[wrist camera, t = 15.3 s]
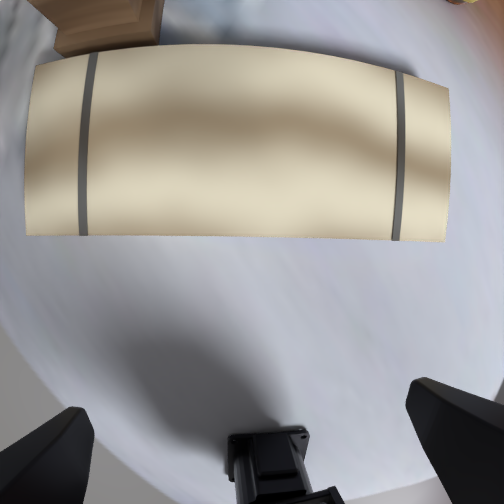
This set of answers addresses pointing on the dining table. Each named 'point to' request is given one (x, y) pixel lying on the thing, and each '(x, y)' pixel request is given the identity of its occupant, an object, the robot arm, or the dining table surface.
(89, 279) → the dining table surface
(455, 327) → the dining table surface
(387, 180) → the board
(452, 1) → the sauce bottle
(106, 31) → the tan pillar on plinth
